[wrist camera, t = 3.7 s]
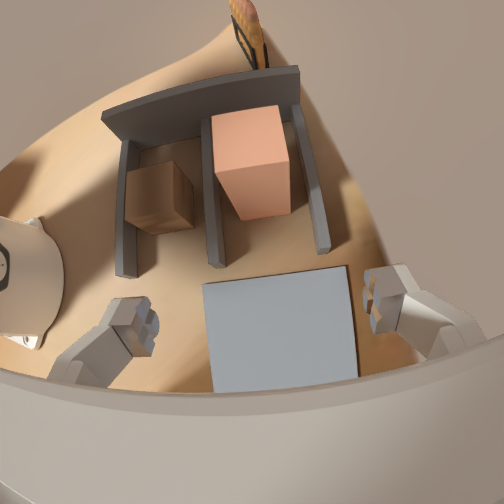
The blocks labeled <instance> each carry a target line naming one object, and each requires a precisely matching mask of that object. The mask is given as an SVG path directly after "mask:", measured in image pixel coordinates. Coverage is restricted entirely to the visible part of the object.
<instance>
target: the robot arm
mask: <svg viewBox="0 0 504 504" xmlns="http://www.w3.org/2000/svg"><path fill="white" fill-rule="evenodd" d="M364 280H365V282H366V285H365V286H364V288H363V304H364V308H365V311H366V313H367V314H369V315H370V321H369V322H370V324H371V327H372V330H373V333H374V335H377V334H383V333H388V332H394V331H396V333H397V334H398V335H400V336H401V337H402V338H403V339H404V340H406V341H407V342H408V343H409V344H410V345H411V346H413V347H414V348H415V349H416V350H417V351H419V352H420V353H421V354H422V355H423V356H424V357H425V358H427V360H426V362H422V363H418V364H414V365H411V366H407V367H403V368H399V369H395V370H391V371H386V372H382V373H377V374H373V375H368V376H363V377H358V378H353V379H347V380H342V381H336V382H330V383H323V384H316V385H309V386H301V387H293V388H284V389H274V390H262V391H247V392H226V393H167V392H146V391H131V390H120V389H110V388H107V387H108V386H109V385H110V384H111V383H112V382H113V380H114V379H115V378H116V377H117V376H118V375H119V374H120V372H121V371H122V370H123V369H124V368H125V367H126V365H127V364H128V363H129V362H130V361H131V360H132V359H133V357H151V355H152V352H153V348H154V345H155V343H154V341H153V339H154V338H155V337H156V336H157V335H158V332H159V319H158V316H157V314H156V312H155V311H153V310H152V309H150V306H151V302H150V300H149V299H148V297H145V296H141V297H124V298H114V299H112V300H111V302H110V304H109V306H108V307H107V309H106V311H105V313H104V315H103V317H102V319H101V321H100V323H99V325H98V326H95V327H94V328H92V329H91V330H90V331H89V332H87V333H86V334H85V335H84V336H83V337H81V338H80V339H79V340H78V341H76V342H75V343H74V344H73V345H72V346H70V347H69V348H68V349H67V350H65V351H64V352H63V353H62V354H61V355H59V356H58V357H57V359H56V361H55V363H54V365H53V367H52V369H51V371H50V373H49V375H48V377H47V379H45V378H40V377H35V376H31V375H26V374H22V373H18V372H14V371H10V370H6V369H3V368H0V504H504V334H502V335H500V336H497V337H495V338H492V339H490V340H487V339H486V337H485V335H484V333H483V332H482V330H481V328H480V327H479V325H478V323H477V322H476V320H475V318H474V317H473V316H471V315H469V314H468V313H466V312H464V311H462V310H461V309H459V308H457V307H455V306H454V305H452V304H450V303H448V302H446V301H445V300H443V299H441V298H439V297H437V296H436V295H434V294H432V293H430V292H428V291H426V290H421V288H420V287H419V285H418V284H417V282H416V280H415V279H414V277H413V276H412V274H411V273H410V271H409V269H408V268H407V266H406V265H405V264H404V263H399V264H394V265H391V266H384V267H378V268H372V269H366V270H365V273H364ZM63 285H64V272H63V263H62V258H61V254H60V251H59V249H58V247H57V245H56V243H55V242H54V240H53V239H52V238H51V237H50V236H49V235H48V234H46V233H45V231H44V229H43V226H42V223H41V221H40V220H39V219H37V218H31V219H30V220H28V221H27V222H25V223H22V222H19V221H16V220H12V219H9V218H6V217H2V216H0V336H5V337H7V338H9V339H11V340H13V341H15V342H17V343H19V344H21V345H23V346H25V347H27V348H29V349H32V350H38V349H39V347H40V345H41V342H42V339H43V335H44V333H45V331H46V330H47V329H48V328H49V327H50V325H51V324H52V323H53V321H54V319H55V317H56V315H57V313H58V310H59V307H60V304H61V300H62V294H63Z"/></svg>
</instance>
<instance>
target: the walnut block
mask: <svg viewBox="0 0 504 504" xmlns="http://www.w3.org/2000/svg"><path fill="white" fill-rule="evenodd" d="M125 220H126V221H128V222H129V223H131V224H133V225H135V226H136V227H138V228H140V229H142V230H143V231H145V232H147V233H149V234H150V235H152V236H153V235H159V234H164V233H170V232H176V231H182V230H188V229H194V228H195V224H194V205H193V185H192V184H191V183H190V181H189V180H188V179H187V178H186V176H185V175H184V174H183V172H182V171H181V170H180V169H179V167H178V166H177V165H176V163H175V162H174V161H173V160H172V161H168V162H164V163H160V164H156V165H152V166H148V167H144V168H141V169H137V170H133V171H130V172H127V181H126V200H125Z"/></svg>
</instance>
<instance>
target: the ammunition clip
mask: <svg viewBox="0 0 504 504" xmlns="http://www.w3.org/2000/svg"><path fill="white" fill-rule="evenodd" d="M230 7H231V11H232V15H231V17H232V22H233V26H234V30H235V35H236V39H237V41H238V42H239V44H240V46H241V48H242V50H243V51H244V53H245V55H246V57H247V59H248V61H249V62H250V64H251V66H252V68H253V70H259V69H266V68H269V63H268V56H267V49H266V45H265V43H264V41H263V35H262V29H261V26H260V24H259V19H258V16H257V12H256V9H255V7H254V5H253V4H252V2H251V1H249V0H230Z"/></svg>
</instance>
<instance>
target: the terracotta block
mask: <svg viewBox="0 0 504 504" xmlns="http://www.w3.org/2000/svg"><path fill="white" fill-rule="evenodd" d="M212 134H213V151H214V167H215V174H216V176H217V177H218V179H219V181H220V183H221V185H222V186H223V188H224V190H225V192H226V194H227V196H228V197H229V199H230V201H231V203H232V205H233V206H234V208H235V210H236V212H237V214H238V215H239V217H240V219H241V221H245V220H252V219H259V218H266V217H273V216H280V215H288V214H291V211H290V167H289V157H288V152H287V147H286V142H285V137H284V132H283V127H282V122H281V118H280V113H279V108H278V105H275V106H267V107H260V108H254V109H248V110H242V111H236V112H230V113H225V114H220V115H215V116H212Z"/></svg>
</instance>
